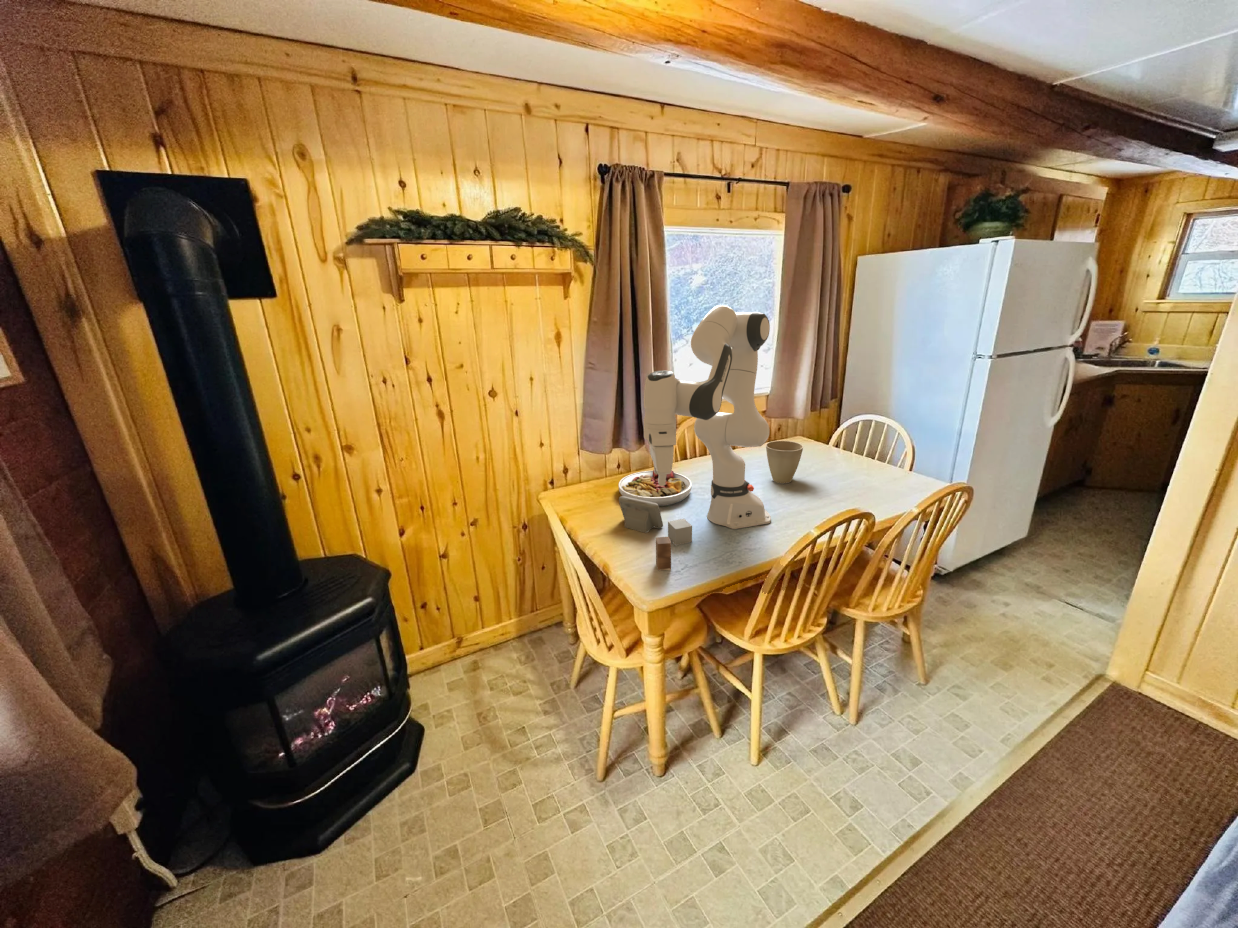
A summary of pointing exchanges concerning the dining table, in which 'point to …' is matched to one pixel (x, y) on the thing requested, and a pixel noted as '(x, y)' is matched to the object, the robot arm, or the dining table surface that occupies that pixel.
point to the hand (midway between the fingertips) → (659, 479)
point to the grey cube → (680, 531)
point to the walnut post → (663, 553)
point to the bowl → (655, 487)
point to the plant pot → (783, 459)
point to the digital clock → (640, 514)
